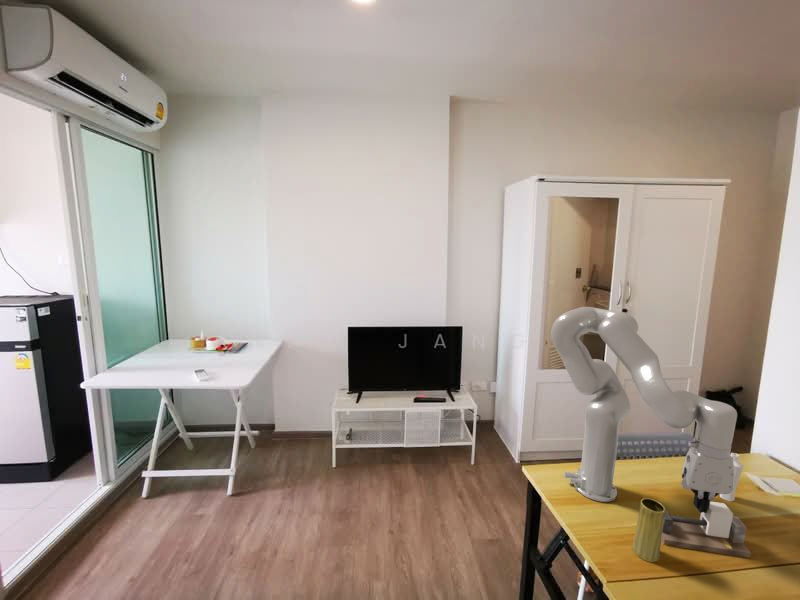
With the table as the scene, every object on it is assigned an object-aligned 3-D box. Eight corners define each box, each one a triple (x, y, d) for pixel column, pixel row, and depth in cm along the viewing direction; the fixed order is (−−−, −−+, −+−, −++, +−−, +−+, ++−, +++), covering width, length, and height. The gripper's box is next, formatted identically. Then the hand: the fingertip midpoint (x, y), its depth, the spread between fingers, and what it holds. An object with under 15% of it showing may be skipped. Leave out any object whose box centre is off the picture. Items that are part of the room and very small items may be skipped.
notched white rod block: (707, 535, 104) (711, 510, 102) (698, 524, 108) (703, 500, 106) (728, 538, 103) (733, 513, 101) (719, 527, 107) (724, 503, 105)
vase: (659, 566, 97) (667, 517, 94) (631, 555, 100) (638, 507, 97) (658, 549, 102) (666, 502, 99) (632, 539, 105) (638, 493, 102)
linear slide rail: (663, 544, 104) (667, 523, 102) (648, 517, 113) (651, 497, 112) (749, 558, 100) (754, 536, 98) (726, 528, 109) (730, 508, 108)
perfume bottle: (713, 492, 124) (721, 450, 121) (725, 492, 124) (734, 450, 122) (726, 502, 120) (734, 459, 117) (739, 502, 120) (748, 458, 117)
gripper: (686, 452, 99) (676, 514, 103) (754, 460, 96) (741, 524, 99) (672, 437, 106) (663, 495, 110) (735, 444, 103) (723, 504, 107)
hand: (700, 509), depth 105 cm, fingers closed
